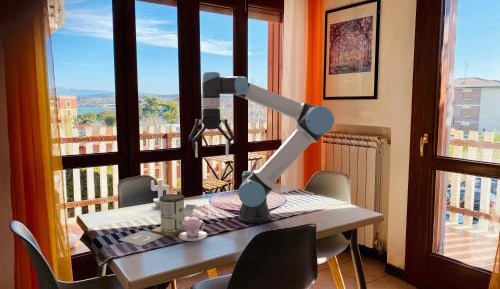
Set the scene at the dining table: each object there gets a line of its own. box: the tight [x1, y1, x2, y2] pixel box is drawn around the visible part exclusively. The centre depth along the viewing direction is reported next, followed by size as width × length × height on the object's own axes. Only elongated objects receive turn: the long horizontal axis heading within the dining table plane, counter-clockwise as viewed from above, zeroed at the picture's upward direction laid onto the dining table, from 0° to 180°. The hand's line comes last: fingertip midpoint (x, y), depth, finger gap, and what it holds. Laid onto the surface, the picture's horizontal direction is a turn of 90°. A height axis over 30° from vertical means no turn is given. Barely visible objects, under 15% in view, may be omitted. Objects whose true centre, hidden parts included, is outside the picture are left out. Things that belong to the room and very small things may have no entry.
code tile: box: [118, 230, 165, 247], centre depth 152 cm, size 13×13×1 cm
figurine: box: [150, 177, 170, 208], centre depth 199 cm, size 7×9×15 cm
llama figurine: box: [184, 202, 209, 221], centre depth 175 cm, size 2×12×20 cm
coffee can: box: [160, 193, 185, 232], centre depth 161 cm, size 10×10×14 cm
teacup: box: [178, 219, 208, 242], centre depth 154 cm, size 12×12×6 cm
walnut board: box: [150, 225, 186, 238], centre depth 162 cm, size 13×13×1 cm
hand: (211, 156), depth 163 cm, fingers open, 13 cm apart
